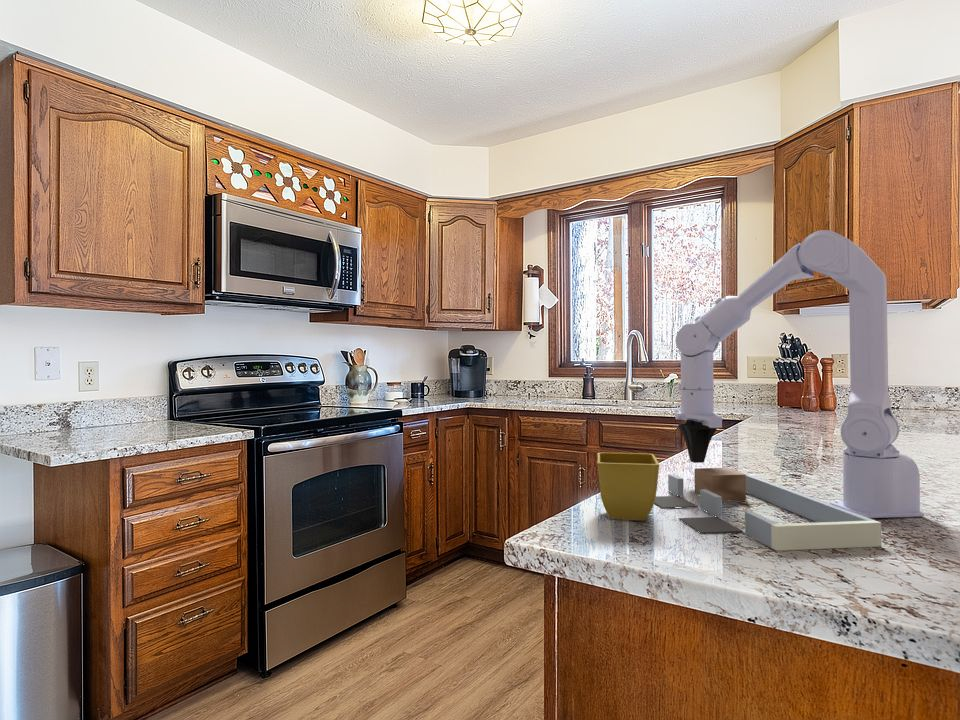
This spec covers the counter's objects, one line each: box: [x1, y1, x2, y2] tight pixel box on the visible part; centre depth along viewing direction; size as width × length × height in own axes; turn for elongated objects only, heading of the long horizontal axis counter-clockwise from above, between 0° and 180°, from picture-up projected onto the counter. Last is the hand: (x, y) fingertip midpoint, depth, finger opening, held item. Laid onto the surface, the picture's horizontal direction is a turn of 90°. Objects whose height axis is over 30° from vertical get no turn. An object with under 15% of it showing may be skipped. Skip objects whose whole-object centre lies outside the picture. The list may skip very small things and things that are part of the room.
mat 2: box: [678, 516, 744, 534], centre depth 81 cm, size 6×7×1 cm
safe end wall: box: [770, 519, 882, 551], centre depth 72 cm, size 14×1×3 cm, turn 95°
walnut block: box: [694, 467, 747, 502], centre depth 98 cm, size 6×6×4 cm
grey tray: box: [667, 471, 874, 549], centre depth 88 cm, size 14×31×3 cm, turn 5°
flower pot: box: [596, 451, 660, 522], centre depth 86 cm, size 9×9×9 cm
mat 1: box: [653, 495, 699, 509], centre depth 94 cm, size 6×7×1 cm
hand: (697, 462), depth 106 cm, fingers closed
